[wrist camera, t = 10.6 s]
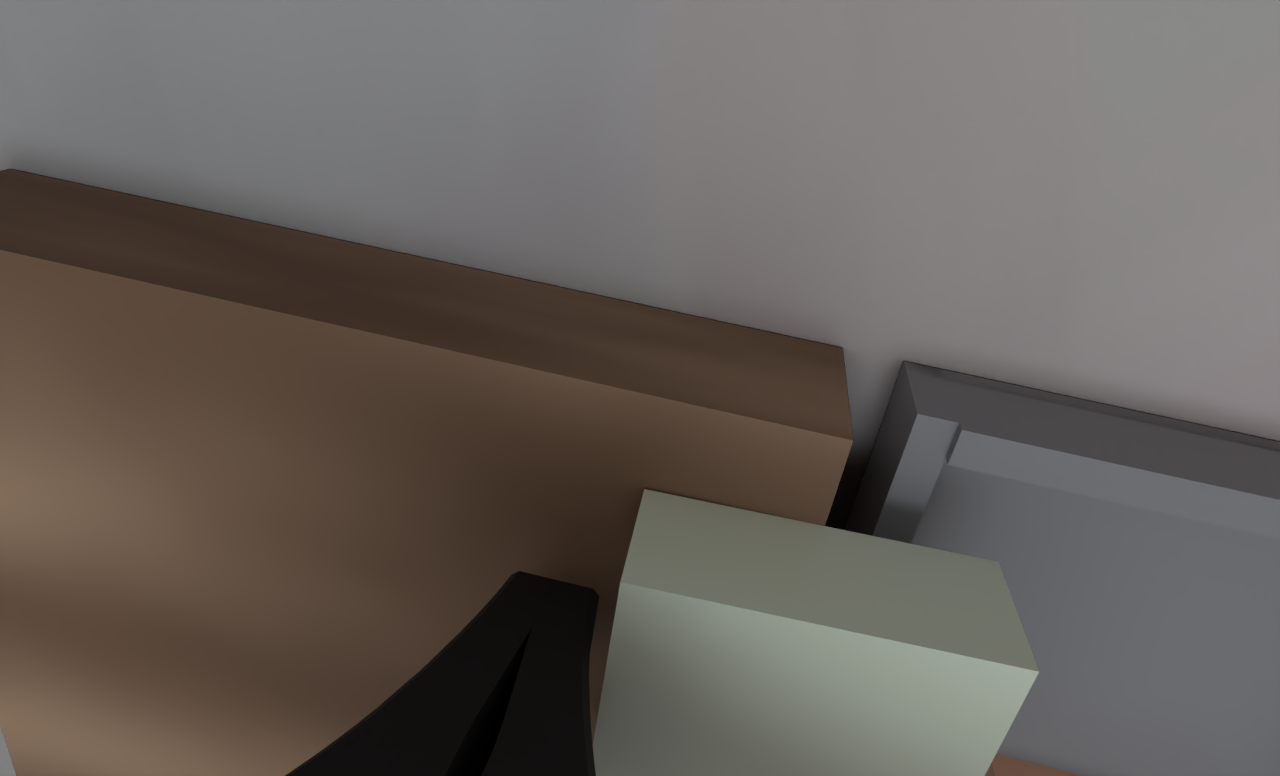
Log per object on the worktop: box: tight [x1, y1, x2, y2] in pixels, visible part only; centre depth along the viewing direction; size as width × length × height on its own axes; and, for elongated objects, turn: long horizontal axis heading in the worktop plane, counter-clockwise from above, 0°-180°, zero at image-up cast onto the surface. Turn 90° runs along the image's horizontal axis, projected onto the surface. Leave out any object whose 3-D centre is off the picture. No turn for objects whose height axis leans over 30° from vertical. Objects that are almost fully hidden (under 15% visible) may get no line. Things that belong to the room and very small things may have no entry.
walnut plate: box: [0, 169, 853, 776], centre depth 16 cm, size 16×15×3 cm
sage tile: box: [593, 489, 1039, 776], centre depth 12 cm, size 5×5×2 cm
